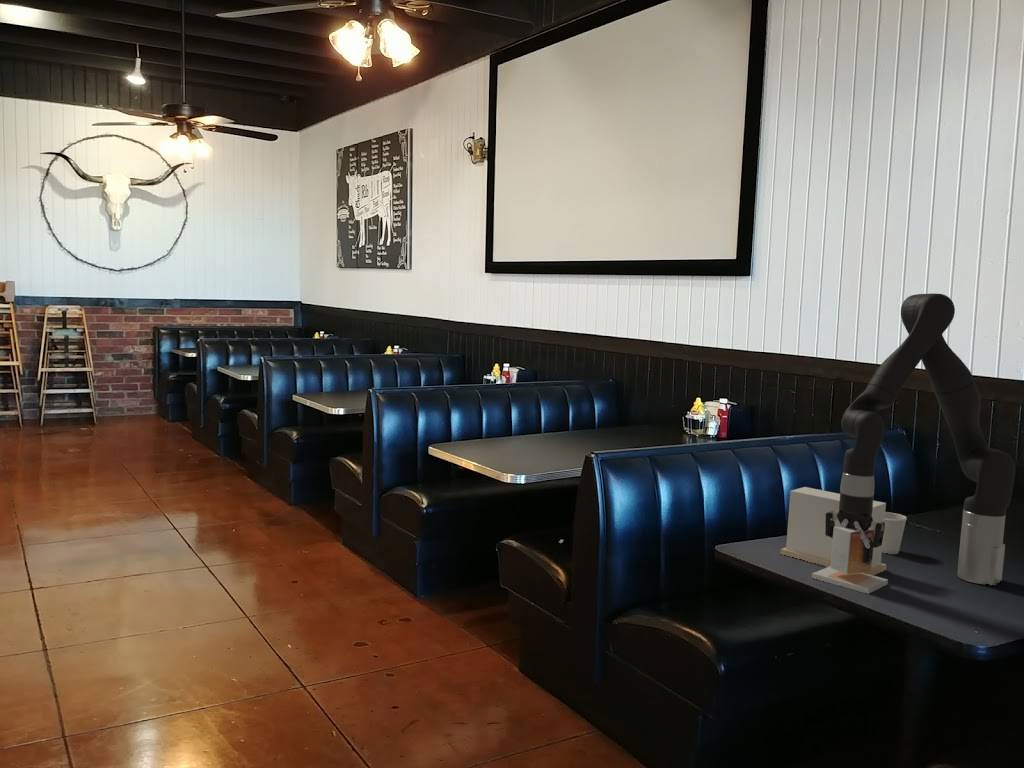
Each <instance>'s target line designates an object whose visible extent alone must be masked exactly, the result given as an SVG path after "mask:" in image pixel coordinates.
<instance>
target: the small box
mask: <svg viewBox="0 0 1024 768" xmlns="http://www.w3.org/2000/svg"><path fill="white" fill-rule="evenodd" d="M864 533H865V535H867V534H869V533H870V534H871V537H872V540H874V530H873V529H870V528H869V530H866V531H864ZM864 548H866V547H865V545H864V542H863V540H862V539H861V538H860V531H857V530H856V529H851V528H843V527H834V530H833V543H832V555H831V568H832V569H835V570H837V571H840V572H842V573H845V574H852V573H862V572H871V565H872V560H871V561H870V562H869V563H864V562H863V559H864Z"/></svg>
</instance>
